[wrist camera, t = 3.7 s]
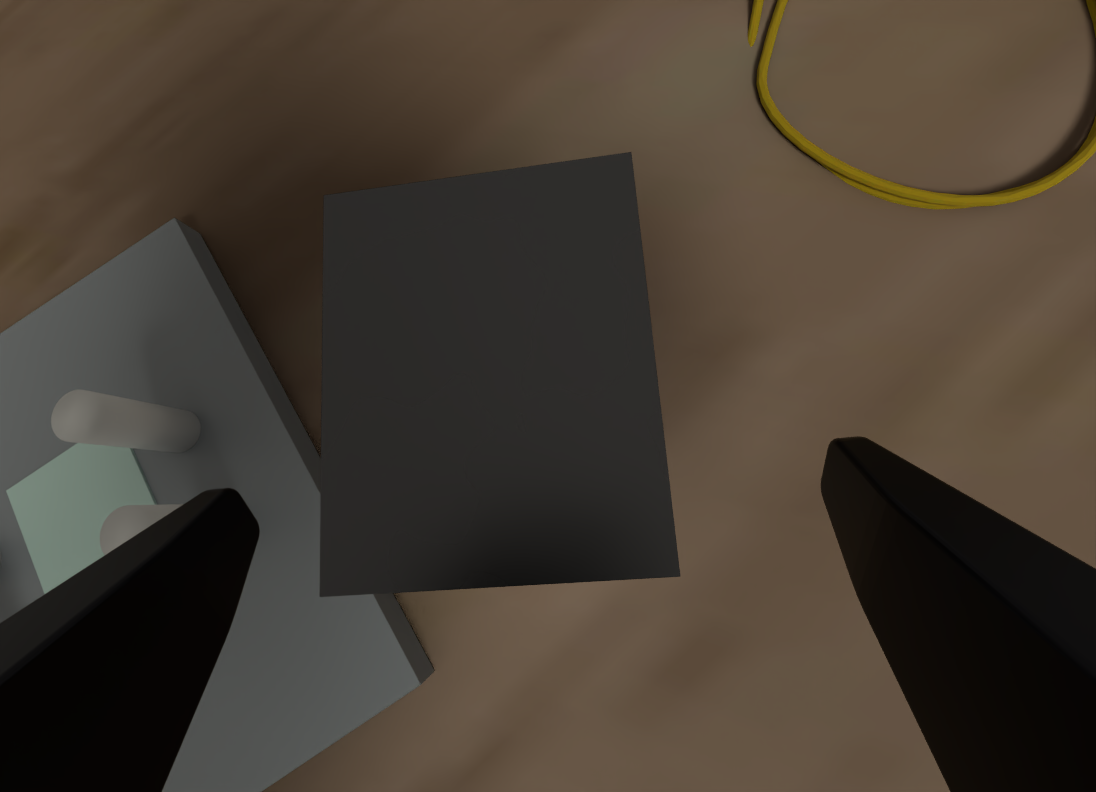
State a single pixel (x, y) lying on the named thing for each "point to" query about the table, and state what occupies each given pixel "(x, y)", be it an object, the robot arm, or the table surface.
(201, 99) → the table surface
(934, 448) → the table surface
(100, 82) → the table surface
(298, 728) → the dock
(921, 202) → the extension cord
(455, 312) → the block
